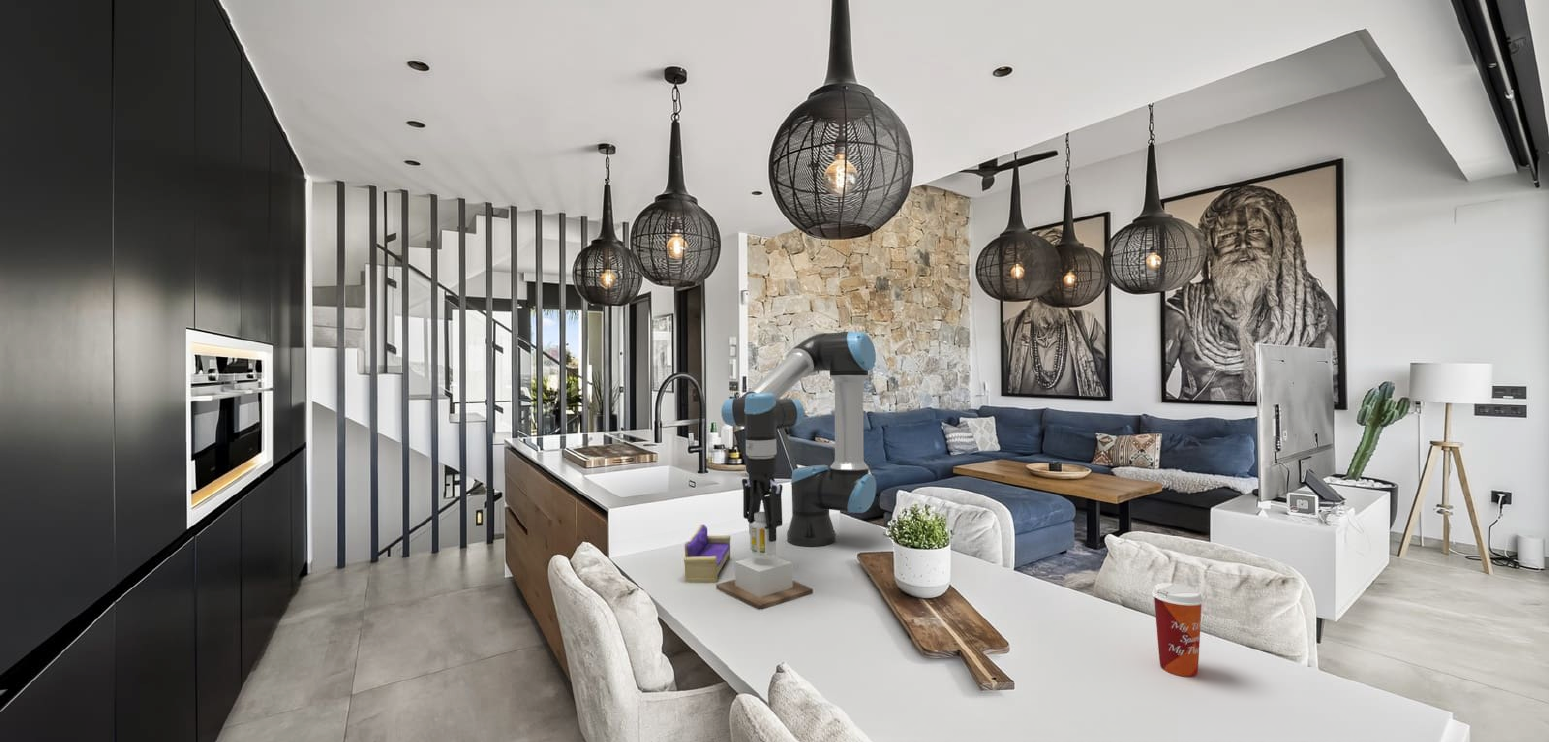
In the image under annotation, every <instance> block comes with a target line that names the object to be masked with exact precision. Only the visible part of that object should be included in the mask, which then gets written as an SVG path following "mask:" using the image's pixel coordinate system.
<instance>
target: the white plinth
mask: <svg viewBox="0 0 1549 742" xmlns="http://www.w3.org/2000/svg"><path fill="white" fill-rule="evenodd" d="M734 580H735V586H736V587H738V588H741V589H743V590H745V591H747V592H749V593H751V594H753V595H756V596H758V597H762V596H766V595H769V594H772V593H776V592H779V591H782V590H786V589H789V588H792V587H793V581H794V579H793V562H791V561H788V560H786V559H783V558H780V557H779V556H774V554H772V555H768V556H766V555H756V556H753V557H749V558H748V557H747V558H744V559H741V560H735V561H734Z"/></svg>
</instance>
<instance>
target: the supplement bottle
mask: <svg viewBox="0 0 1549 742" xmlns="http://www.w3.org/2000/svg"><path fill="white" fill-rule="evenodd" d="M754 519H755V521H754V522H753V523H752V550H751V553H752V554H753V555H756V556H760V555H765V527H766V526H767V524H766V519H765V513H764V511H759V512H757V513H755V514H754Z"/></svg>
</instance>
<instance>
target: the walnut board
mask: <svg viewBox="0 0 1549 742" xmlns="http://www.w3.org/2000/svg"><path fill="white" fill-rule="evenodd" d="M715 585H716V586H715V588H716V590H718V591H721V592H722V593H725V594H727V595H728V596H730V597H733V599H737V600H739V601H741V602H742V603H744V604H746V605H748V606H751V607H753V608H754V609H757V610H759V611H761V610H763V608H764V609H767V608H770V607H773V606H777V605H780V604H782V603H786V602H789V601H792V600H795V599H799V598H802V597H805V596H808V595H812V594H813V593H814V589H813V588H811V587H809V586H807V585H805V584H802V583H799V582H797V581H794V580H793V587H792V588H789V589H786V590H782V591H779V592H776V593H772V594H769V595H766V596H762V597H758V596H756V595H753V594H751V593H749V592H747V591H745V590H743V589H741V588H738V587H736V586H735V579H732V580H728V581H725V582H721V583H717V584H715ZM760 609H761V610H760Z"/></svg>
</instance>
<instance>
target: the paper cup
mask: <svg viewBox="0 0 1549 742" xmlns="http://www.w3.org/2000/svg"><path fill="white" fill-rule="evenodd" d="M1151 595H1152V596H1153V601H1154V602H1153V603H1154V612H1155V613H1154V614H1155V624H1156V634H1157V637H1156V639H1157V648H1158V657H1159V666H1160V669H1162V671H1165V672H1167V673H1169V674H1172V675H1173V676H1174V675H1175V676H1178V677H1185V678H1191V677H1196V676H1197V675H1198V673H1199V672H1198V671H1199V662H1200V661H1199V659H1200V643H1201V641H1200V638H1201V624H1202V623H1201V622H1202V604H1204V602H1205V601H1204V599H1203V597H1202V594H1201V592H1200V591H1199V590H1197V589H1196V588H1193V587H1192V586H1188V585H1184V584H1179V583H1173V582H1172V583H1171V582H1167V583H1165V582H1162V583H1158V584H1156V585H1155V586H1154V589H1153V590H1152V592H1151Z"/></svg>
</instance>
